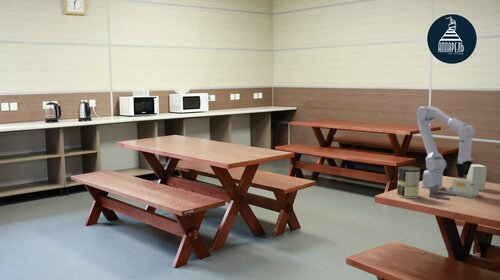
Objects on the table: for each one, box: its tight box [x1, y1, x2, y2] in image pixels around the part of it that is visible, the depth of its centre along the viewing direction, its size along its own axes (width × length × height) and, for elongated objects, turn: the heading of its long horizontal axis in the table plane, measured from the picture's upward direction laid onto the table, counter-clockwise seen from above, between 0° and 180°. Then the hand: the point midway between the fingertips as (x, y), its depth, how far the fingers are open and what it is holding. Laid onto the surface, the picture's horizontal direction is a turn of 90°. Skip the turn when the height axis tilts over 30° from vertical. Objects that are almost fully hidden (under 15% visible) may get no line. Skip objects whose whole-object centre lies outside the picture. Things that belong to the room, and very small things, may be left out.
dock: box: [428, 183, 457, 201], centre depth 244 cm, size 10×11×5 cm
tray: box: [445, 185, 480, 199], centre depth 250 cm, size 13×10×2 cm
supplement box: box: [466, 163, 488, 191], centre depth 263 cm, size 7×7×13 cm
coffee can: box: [396, 165, 421, 199], centre depth 244 cm, size 10×10×14 cm
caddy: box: [452, 177, 474, 193], centre depth 249 cm, size 9×5×7 cm, turn 51°
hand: (462, 176), depth 249 cm, fingers open, 7 cm apart
